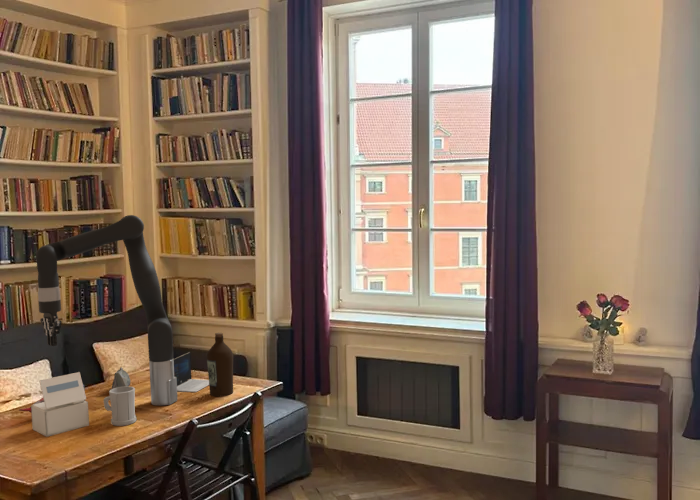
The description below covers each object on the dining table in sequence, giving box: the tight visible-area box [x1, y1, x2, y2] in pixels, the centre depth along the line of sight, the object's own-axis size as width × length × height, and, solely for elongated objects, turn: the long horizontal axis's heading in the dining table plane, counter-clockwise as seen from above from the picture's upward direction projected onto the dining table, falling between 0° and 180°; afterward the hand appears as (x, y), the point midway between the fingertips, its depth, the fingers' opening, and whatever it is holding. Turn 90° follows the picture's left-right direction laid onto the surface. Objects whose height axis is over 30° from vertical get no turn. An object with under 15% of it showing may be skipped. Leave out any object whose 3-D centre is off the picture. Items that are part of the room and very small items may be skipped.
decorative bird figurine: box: [18, 397, 44, 413], centre depth 247 cm, size 3×18×10 cm, turn 156°
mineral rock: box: [111, 367, 131, 389], centre depth 285 cm, size 13×11×10 cm
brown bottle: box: [206, 332, 234, 397], centre depth 274 cm, size 11×11×25 cm
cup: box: [103, 386, 137, 427], centre depth 240 cm, size 10×9×12 cm
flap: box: [39, 371, 87, 409], centre depth 234 cm, size 1×14×10 cm, turn 136°
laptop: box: [173, 351, 209, 393], centre depth 287 cm, size 18×12×13 cm
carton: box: [30, 399, 90, 438], centre depth 237 cm, size 12×15×9 cm
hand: (52, 345), depth 249 cm, fingers closed
